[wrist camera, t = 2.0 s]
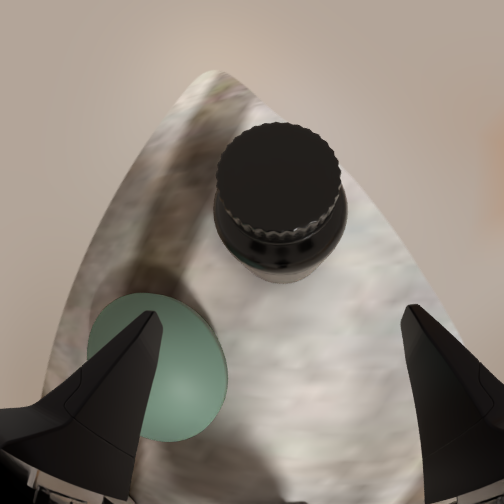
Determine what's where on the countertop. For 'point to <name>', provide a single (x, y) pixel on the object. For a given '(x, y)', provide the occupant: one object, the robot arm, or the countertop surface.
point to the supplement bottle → (279, 201)
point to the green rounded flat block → (172, 365)
